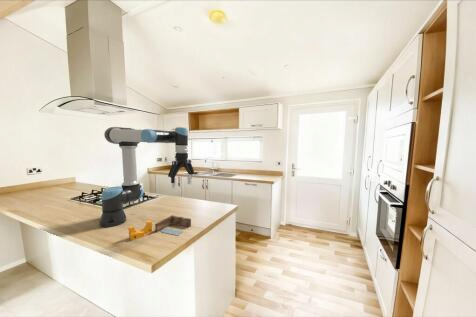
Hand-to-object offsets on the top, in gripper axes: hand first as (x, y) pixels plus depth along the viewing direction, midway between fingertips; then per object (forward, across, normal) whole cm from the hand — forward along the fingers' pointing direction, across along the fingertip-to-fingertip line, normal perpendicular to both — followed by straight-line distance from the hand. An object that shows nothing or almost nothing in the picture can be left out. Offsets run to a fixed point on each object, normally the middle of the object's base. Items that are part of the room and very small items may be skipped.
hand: (182, 186), depth 118 cm
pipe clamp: (+27, -19, +13) cm, 36 cm away
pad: (+27, -8, +1) cm, 28 cm away
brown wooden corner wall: (+27, -4, +3) cm, 27 cm away
